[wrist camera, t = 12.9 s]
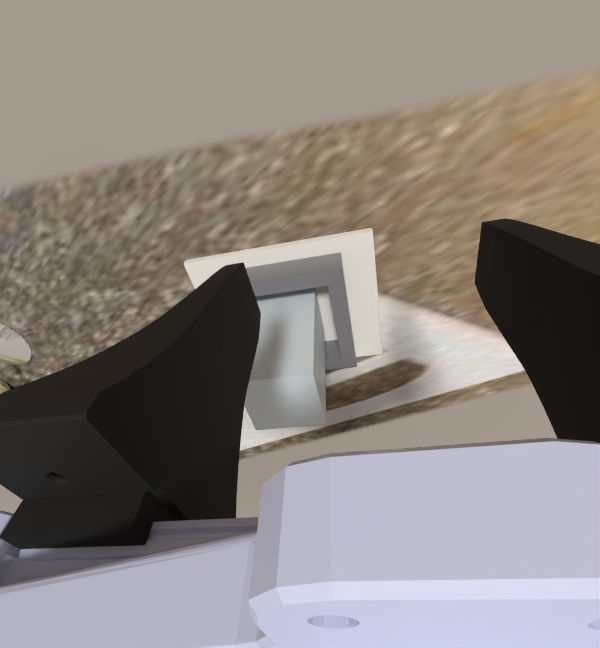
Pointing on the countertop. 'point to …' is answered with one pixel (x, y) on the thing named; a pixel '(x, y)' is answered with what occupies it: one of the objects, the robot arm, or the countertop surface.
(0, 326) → the wineglass
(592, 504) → the robot arm
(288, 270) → the dock
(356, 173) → the countertop surface
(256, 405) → the block
